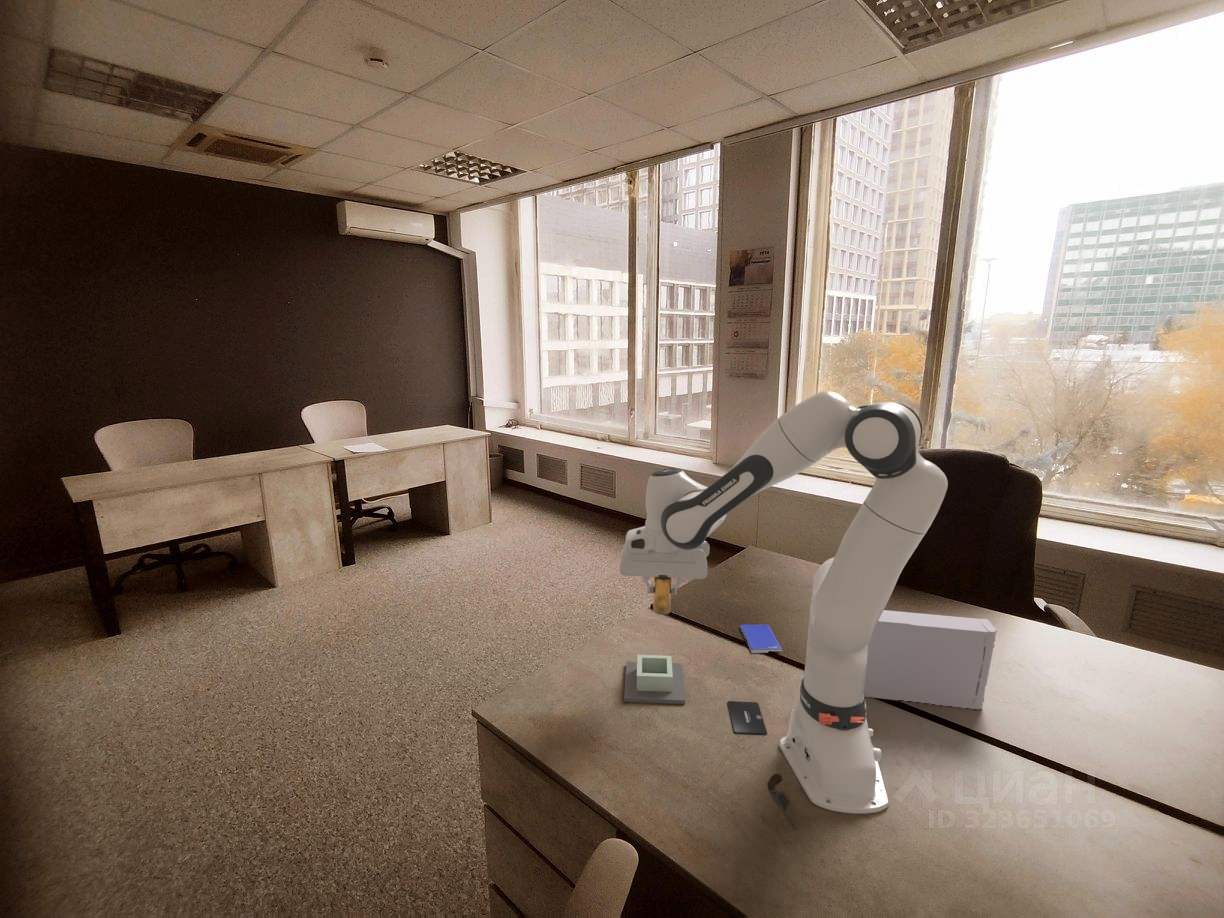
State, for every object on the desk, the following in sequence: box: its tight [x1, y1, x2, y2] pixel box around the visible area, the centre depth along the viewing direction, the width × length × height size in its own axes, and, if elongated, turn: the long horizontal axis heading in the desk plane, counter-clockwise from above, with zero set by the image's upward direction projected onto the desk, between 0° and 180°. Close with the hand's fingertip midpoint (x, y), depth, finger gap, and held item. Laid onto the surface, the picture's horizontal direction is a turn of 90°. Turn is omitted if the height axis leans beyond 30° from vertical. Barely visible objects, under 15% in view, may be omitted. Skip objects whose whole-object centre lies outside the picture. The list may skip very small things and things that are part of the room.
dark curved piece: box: [767, 773, 798, 831], centre depth 99 cm, size 14×4×1 cm, turn 13°
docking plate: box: [624, 654, 686, 705], centre depth 132 cm, size 14×14×5 cm
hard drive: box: [739, 623, 783, 654], centre depth 151 cm, size 2×8×12 cm
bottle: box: [652, 575, 672, 616], centre depth 128 cm, size 4×4×10 cm
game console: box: [864, 609, 998, 710], centre depth 125 cm, size 6×27×20 cm, turn 78°
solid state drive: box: [727, 700, 768, 736], centre depth 121 cm, size 7×10×1 cm
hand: (662, 592), depth 128 cm, fingers closed on bottle, 4 cm apart
